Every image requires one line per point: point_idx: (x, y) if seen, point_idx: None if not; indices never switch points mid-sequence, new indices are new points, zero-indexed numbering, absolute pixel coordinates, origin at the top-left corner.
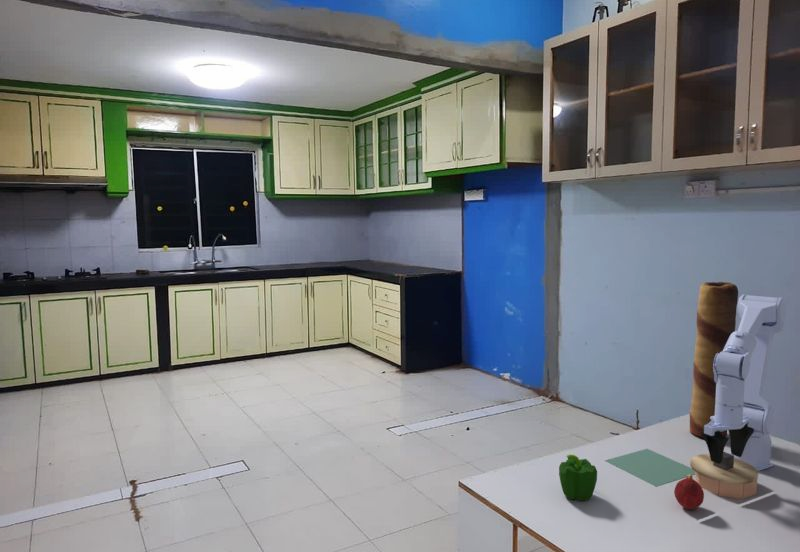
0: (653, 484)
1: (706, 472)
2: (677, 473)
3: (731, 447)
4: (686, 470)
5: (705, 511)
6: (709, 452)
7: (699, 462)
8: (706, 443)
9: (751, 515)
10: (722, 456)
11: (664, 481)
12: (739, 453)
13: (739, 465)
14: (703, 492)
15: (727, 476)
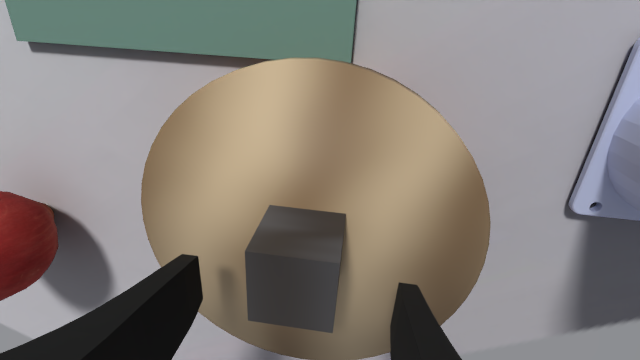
0: (14, 19)
1: (158, 225)
2: (219, 2)
3: (403, 317)
4: (300, 5)
5: (96, 244)
6: (139, 284)
7: (228, 139)
8: (59, 328)
9: (211, 323)
10: (177, 347)
11: (86, 29)
12: (392, 344)
13: (398, 280)
14: (17, 292)
15: (218, 296)
